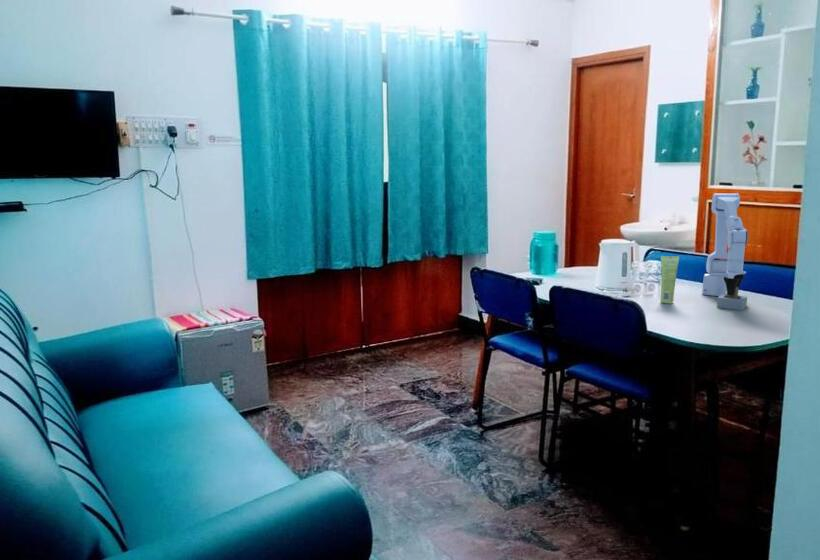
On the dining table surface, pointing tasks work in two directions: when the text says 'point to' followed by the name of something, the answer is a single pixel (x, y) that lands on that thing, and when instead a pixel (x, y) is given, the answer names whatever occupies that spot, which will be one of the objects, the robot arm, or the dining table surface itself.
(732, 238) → the robot arm
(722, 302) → the socket block
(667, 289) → the tube
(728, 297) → the peg
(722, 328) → the dining table surface
